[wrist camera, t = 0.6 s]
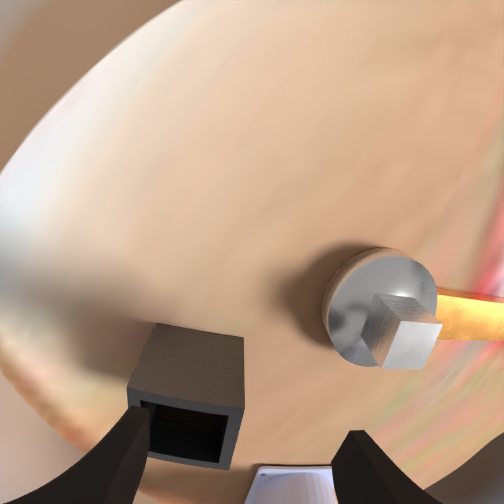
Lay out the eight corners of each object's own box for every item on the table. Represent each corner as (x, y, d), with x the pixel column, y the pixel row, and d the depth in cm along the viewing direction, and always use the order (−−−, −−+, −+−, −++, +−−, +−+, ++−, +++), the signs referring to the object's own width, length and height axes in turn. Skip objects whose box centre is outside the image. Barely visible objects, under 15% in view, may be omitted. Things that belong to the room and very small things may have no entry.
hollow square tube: (230, 400, 20) (228, 470, 14) (154, 387, 19) (133, 453, 13) (243, 337, 18) (244, 408, 12) (156, 322, 18) (126, 387, 12)
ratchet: (535, 281, 18) (575, 304, 13) (507, 350, 20) (539, 380, 15) (338, 237, 17) (374, 269, 12) (308, 344, 19) (327, 401, 14)
